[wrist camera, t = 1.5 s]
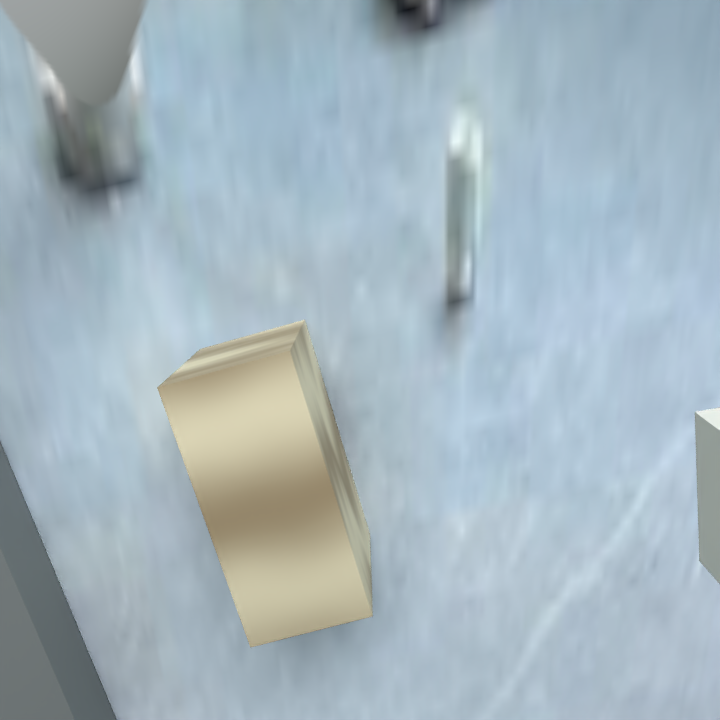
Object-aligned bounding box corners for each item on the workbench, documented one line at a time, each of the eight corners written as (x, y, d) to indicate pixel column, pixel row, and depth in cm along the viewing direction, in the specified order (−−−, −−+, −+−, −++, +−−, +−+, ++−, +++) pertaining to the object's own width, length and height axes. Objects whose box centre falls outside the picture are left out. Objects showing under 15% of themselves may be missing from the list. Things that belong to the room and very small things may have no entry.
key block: (369, 533, 34) (372, 616, 27) (272, 558, 34) (250, 647, 27) (304, 319, 31) (289, 350, 25) (200, 348, 32) (157, 387, 25)
